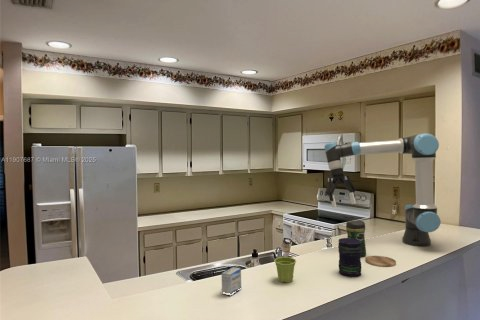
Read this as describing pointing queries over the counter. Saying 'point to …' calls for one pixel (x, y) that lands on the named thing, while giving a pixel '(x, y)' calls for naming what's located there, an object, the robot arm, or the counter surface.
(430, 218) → the robot arm
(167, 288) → the counter surface
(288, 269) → the plant pot
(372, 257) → the plate
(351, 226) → the coffee jar
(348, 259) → the storage jar
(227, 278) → the medicine box
